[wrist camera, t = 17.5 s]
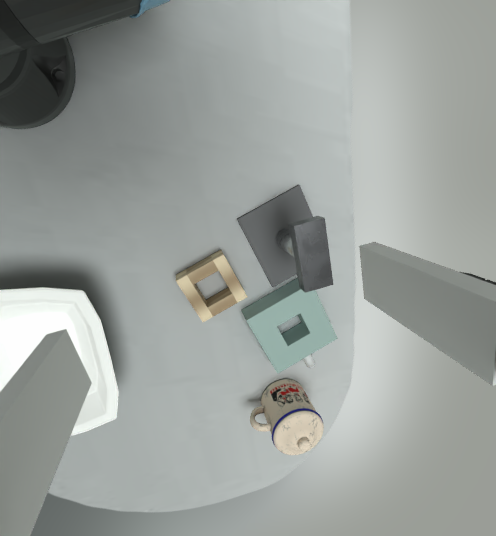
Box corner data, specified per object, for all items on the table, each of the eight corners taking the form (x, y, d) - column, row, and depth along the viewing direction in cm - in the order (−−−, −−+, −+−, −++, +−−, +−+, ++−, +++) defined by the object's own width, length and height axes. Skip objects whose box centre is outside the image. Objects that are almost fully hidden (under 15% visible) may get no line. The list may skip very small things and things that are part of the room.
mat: (236, 219, 48) (237, 219, 47) (298, 184, 48) (299, 185, 48) (272, 286, 52) (272, 287, 52) (327, 254, 53) (329, 255, 52)
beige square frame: (176, 274, 48) (175, 281, 45) (220, 249, 48) (223, 254, 46) (201, 314, 51) (203, 322, 48) (243, 290, 51) (247, 296, 49)
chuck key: (278, 267, 51) (305, 292, 40) (268, 214, 48) (294, 226, 37) (301, 261, 51) (333, 284, 41) (292, 208, 49) (324, 218, 38)
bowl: (105, 259, 45) (90, 277, 37) (134, 387, 52) (127, 426, 45) (-69, 280, 41) (-127, 306, 33) (-12, 416, 48) (-48, 464, 41)
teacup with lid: (306, 375, 59) (335, 420, 49) (301, 414, 62) (327, 465, 51) (246, 379, 57) (262, 429, 46) (242, 420, 59) (257, 475, 48)
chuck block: (241, 309, 52) (246, 320, 49) (302, 275, 53) (311, 282, 49) (278, 373, 58) (285, 387, 54) (333, 341, 58) (344, 353, 55)
